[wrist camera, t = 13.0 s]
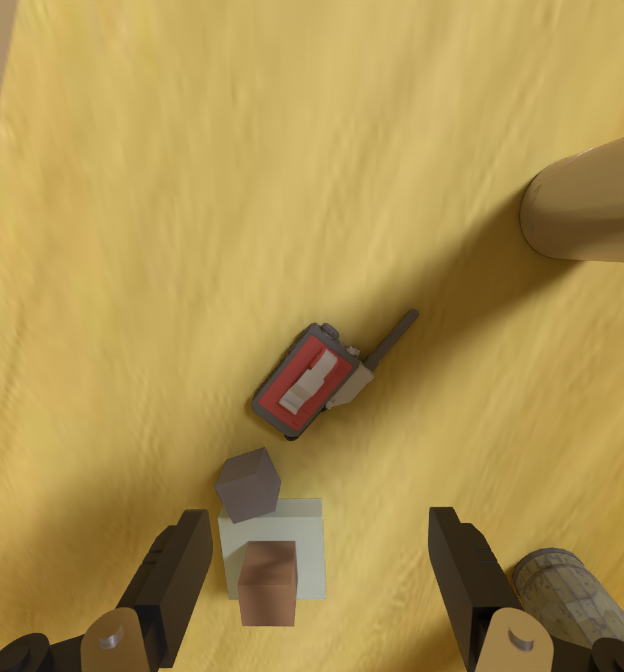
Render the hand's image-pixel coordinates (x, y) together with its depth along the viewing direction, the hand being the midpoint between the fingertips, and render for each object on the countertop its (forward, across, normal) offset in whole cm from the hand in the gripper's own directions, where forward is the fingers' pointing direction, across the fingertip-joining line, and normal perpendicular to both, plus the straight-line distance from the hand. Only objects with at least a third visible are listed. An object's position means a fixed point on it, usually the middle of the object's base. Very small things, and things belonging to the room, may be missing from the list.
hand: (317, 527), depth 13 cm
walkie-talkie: (+27, -1, +2) cm, 27 cm away
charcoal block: (+26, +9, +16) cm, 32 cm away
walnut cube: (+23, +7, +26) cm, 35 cm away
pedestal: (+26, +7, +26) cm, 37 cm away
